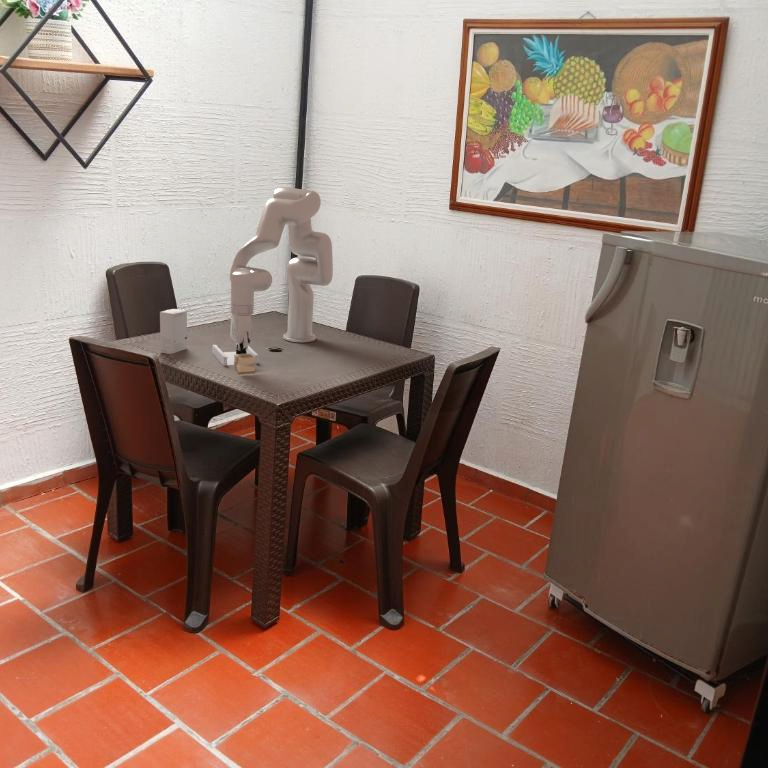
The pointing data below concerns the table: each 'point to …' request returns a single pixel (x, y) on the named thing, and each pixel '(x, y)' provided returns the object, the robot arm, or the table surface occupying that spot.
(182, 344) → the skincare box
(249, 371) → the birch block
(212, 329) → the table surface
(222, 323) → the table surface
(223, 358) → the u-shaped channel
